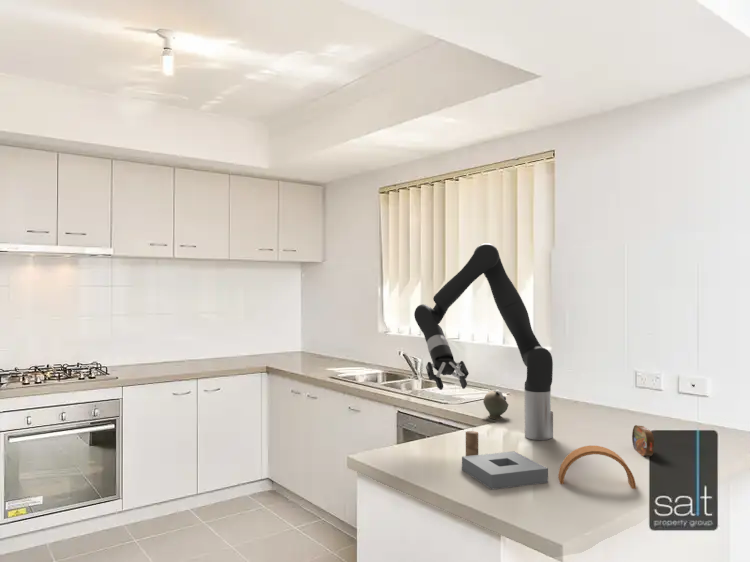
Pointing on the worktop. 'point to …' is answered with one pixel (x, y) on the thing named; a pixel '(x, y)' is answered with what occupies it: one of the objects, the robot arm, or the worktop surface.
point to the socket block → (504, 470)
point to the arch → (589, 451)
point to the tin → (643, 440)
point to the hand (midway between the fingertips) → (453, 387)
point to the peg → (471, 443)
